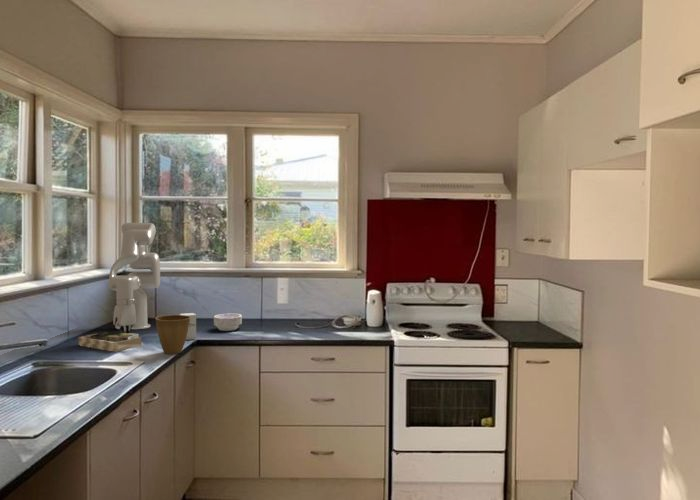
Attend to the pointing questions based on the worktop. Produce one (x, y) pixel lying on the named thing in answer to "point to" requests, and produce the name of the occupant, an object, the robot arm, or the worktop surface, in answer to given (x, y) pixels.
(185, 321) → the plant pot
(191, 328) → the supplement box
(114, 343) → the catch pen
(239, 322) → the paper bowls
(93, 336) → the juice carton
